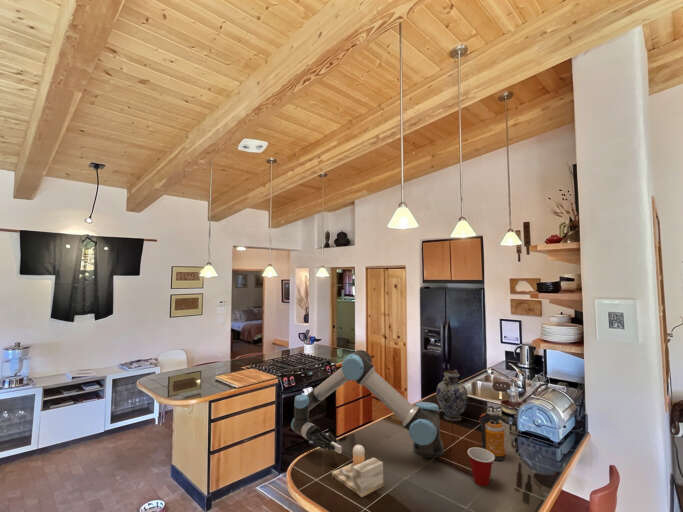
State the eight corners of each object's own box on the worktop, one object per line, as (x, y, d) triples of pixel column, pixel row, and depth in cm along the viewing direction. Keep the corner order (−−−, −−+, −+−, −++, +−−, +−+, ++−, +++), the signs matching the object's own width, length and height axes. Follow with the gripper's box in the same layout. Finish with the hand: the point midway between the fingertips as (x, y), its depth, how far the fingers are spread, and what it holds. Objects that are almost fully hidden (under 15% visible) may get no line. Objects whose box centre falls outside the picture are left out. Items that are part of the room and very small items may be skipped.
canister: (507, 462, 164) (506, 418, 166) (482, 460, 166) (481, 416, 168) (503, 453, 173) (501, 411, 174) (479, 451, 175) (477, 409, 177)
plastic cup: (488, 493, 141) (487, 462, 142) (463, 482, 149) (462, 453, 150) (500, 482, 148) (499, 453, 149) (476, 472, 156) (475, 444, 157)
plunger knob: (350, 477, 151) (350, 444, 151) (359, 473, 154) (359, 441, 155) (358, 483, 146) (357, 449, 147) (367, 478, 150) (367, 445, 151)
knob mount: (331, 475, 155) (331, 453, 156) (352, 466, 163) (352, 445, 163) (361, 497, 140) (361, 472, 140) (383, 485, 147) (382, 462, 148)
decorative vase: (443, 409, 231) (442, 365, 233) (472, 415, 220) (471, 370, 222) (431, 420, 214) (430, 373, 215) (462, 427, 203) (461, 378, 204)
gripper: (322, 436, 183) (351, 454, 164) (300, 444, 175) (329, 463, 156) (322, 421, 183) (351, 437, 165) (300, 428, 175) (328, 445, 157)
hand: (340, 450), depth 161 cm, fingers closed
